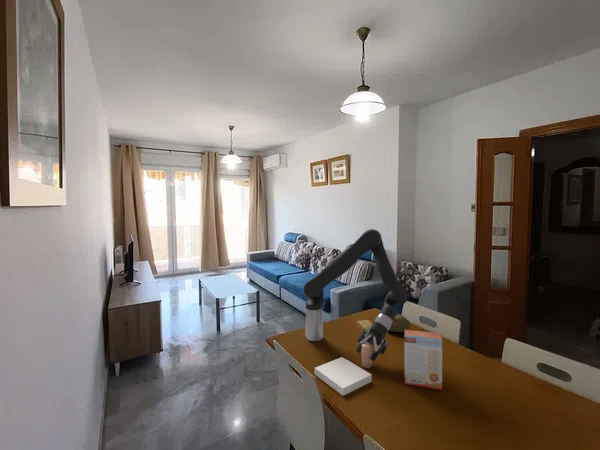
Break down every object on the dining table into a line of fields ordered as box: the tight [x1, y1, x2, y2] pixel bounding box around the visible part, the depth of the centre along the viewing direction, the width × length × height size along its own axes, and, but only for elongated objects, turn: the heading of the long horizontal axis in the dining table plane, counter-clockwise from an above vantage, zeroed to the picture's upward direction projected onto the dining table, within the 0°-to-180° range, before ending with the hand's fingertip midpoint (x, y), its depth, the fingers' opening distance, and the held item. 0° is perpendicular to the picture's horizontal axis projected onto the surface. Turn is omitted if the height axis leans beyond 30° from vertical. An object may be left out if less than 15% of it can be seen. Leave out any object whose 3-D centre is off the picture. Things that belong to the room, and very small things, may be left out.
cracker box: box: [404, 329, 443, 390], centre depth 120 cm, size 14×6×21 cm, turn 71°
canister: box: [361, 344, 373, 369], centre depth 135 cm, size 5×5×9 cm
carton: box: [355, 319, 373, 333], centre depth 172 cm, size 8×16×4 cm, turn 12°
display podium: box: [314, 356, 373, 396], centre depth 125 cm, size 18×16×3 cm
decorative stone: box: [389, 313, 412, 333], centre depth 171 cm, size 17×11×10 cm, turn 56°
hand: (364, 356), depth 134 cm, fingers open, 8 cm apart
